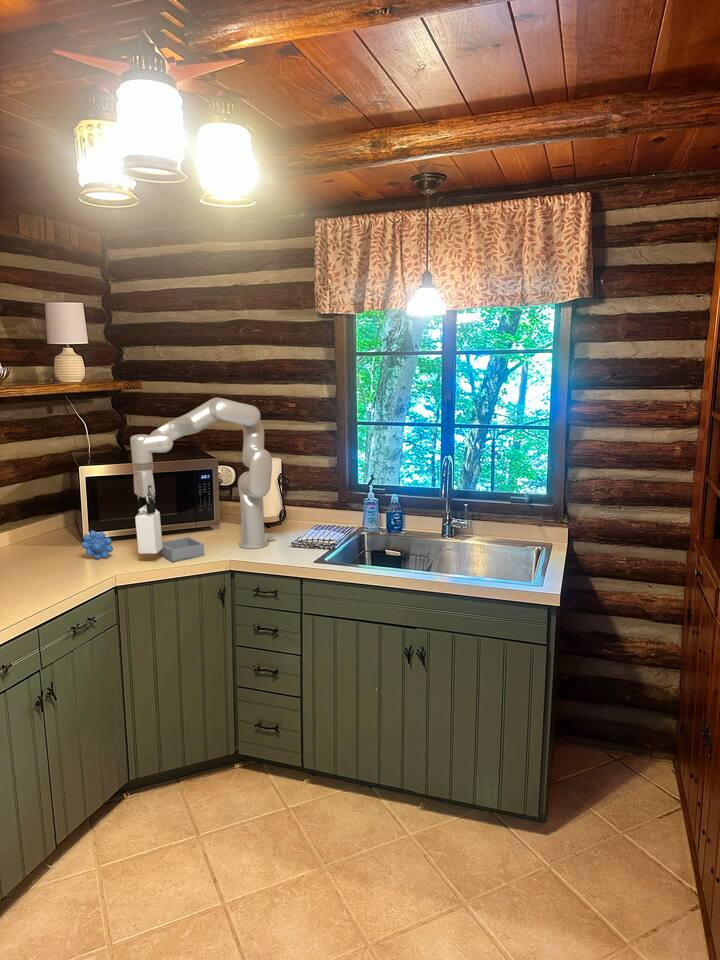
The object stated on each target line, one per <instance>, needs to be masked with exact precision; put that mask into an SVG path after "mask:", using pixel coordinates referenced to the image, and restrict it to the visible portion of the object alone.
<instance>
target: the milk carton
mask: <svg viewBox="0 0 720 960" xmlns="http://www.w3.org/2000/svg"><path fill="white" fill-rule="evenodd" d="M155 511H156V512H155V513H150V514H148V513H147V507H146V505H145V506H143V507H142V508H141V509H139V508H138V513H137V514H136V516H135V517H134V519H135V528H136V531H135V532H136V539H137V548H138V554H139V555H140V554H142V555H143V554H150V555H151V554H159V553H158V552H159V551H160V550H161V549H162V548H163V545H162V542H163V536H162V525H161V514H160V511H158V509H156V508H155Z"/></svg>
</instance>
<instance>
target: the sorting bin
mask: <svg viewBox="0 0 720 960" xmlns="http://www.w3.org/2000/svg"><path fill="white" fill-rule="evenodd" d="M162 545H163V548H162V549H161V550H160V551H159V552H158V553H157V554H158V556H160V555H161V556H160V557H162V558H163V557H164V558H163V559H165V560H167V561H168V562H171V563H177V562H181V561H182V562H183V561H187V560H192V559H196V558H201V556H202V557H204V556H205V544H204V543H203V542H200V541H198V540H196V539H194V538H191V536H188V537H182V538H176V539H171V540H167V541H162Z"/></svg>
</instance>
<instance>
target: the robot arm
mask: <svg viewBox="0 0 720 960" xmlns="http://www.w3.org/2000/svg"><path fill="white" fill-rule="evenodd" d="M219 420H220V421H224V422H227V423H231V424H236V425H239V426H240V427H241V429H242V432H243V441H242V442H243V443H242V454H241V460H242V463H243V465H244V466H245V467H247V468H248V471H245V472H243V473H241V474H240V476H239V477H238V479H237V489H238V495H239V500H240V501H239V503H240V524H241V525H240V526H241V540H240V541H238V543H237V545H238V547H239V548H242V549H250V550H253V549H254V550H255V549H261V548H264V547H267V546H268V545H269V541H268V539H272V538H275V533H274V532H271V533H269V532H265V517H264V516H265V515H264V499H263V498H264V497H266V496H267V495H268V494H269V492H270V490H271V486H272V485H271V483H272V475H273V474H272V473H273V472H272V471H273V458H272V456H271V453H270V452H269V451H268V450H267V449H265V428H264V425H263V422H262V421H261V412H260V410H259V408H258V407H256V406H255V405H251V404H247V403H243V402H238V401H233V400H230V399H227V398H223V397H222V398H221V397H213V398H211V399H209V400H208V401H206V402H204V403H203V404H200V405H199V406H197V407H195V408H194V409H191V411H189V412H187V413H185V414H183V415H181V416H178V417H177V418H174V419H172V420H171V421H169V422H166V423H165V424H163V425H161V426H160V427H158V428H156V429H155V430H153V431H152V432H151V433H149V434H144V433H143V434H135V435H131V436H130V439H129V441H130V442H129V443H130V451H131V452H130V453H131V461H132V463H131V464H132V472H133V491H134V494H135V495H136V496H137V505H138V510H139V509H141V508H142V507H143V506H145V505H146V507H147V513H148V514H150V513H155V512H156V511H155V509H156V489H155V480H154V475H153V474H154V473H153V471H154V462H153V460H154V459H153V453H156V454H157V453H158V454H159V453H160V454H161V453H167V452H170V451H171V450H172V448H173V446H174V441H176V440H178V439H180V438H182V437H184V436H189V435H193V434H197V433H199V432H201V431H203V430H204V429H206V428H208V427H210V426H211V425H212V424H215V423H216V422H217V421H219Z"/></svg>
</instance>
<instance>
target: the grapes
mask: <svg viewBox="0 0 720 960" xmlns="http://www.w3.org/2000/svg"><path fill="white" fill-rule="evenodd" d="M82 539H83V541H82V542H81V548H83V549H85V554H86V555H87V556H89V557H91V556H93V558H94V559H95V560H101V558H104V559H107V558H109V556H110V553H112V552H113V551H114V547H113V546H112V545H111V544H112V542H113V541H112V538H110V537H106V533H105V532H104V531H99V532H97V531H95V530H90V531H89V534H87V533H86V534H83V536H82Z"/></svg>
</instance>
